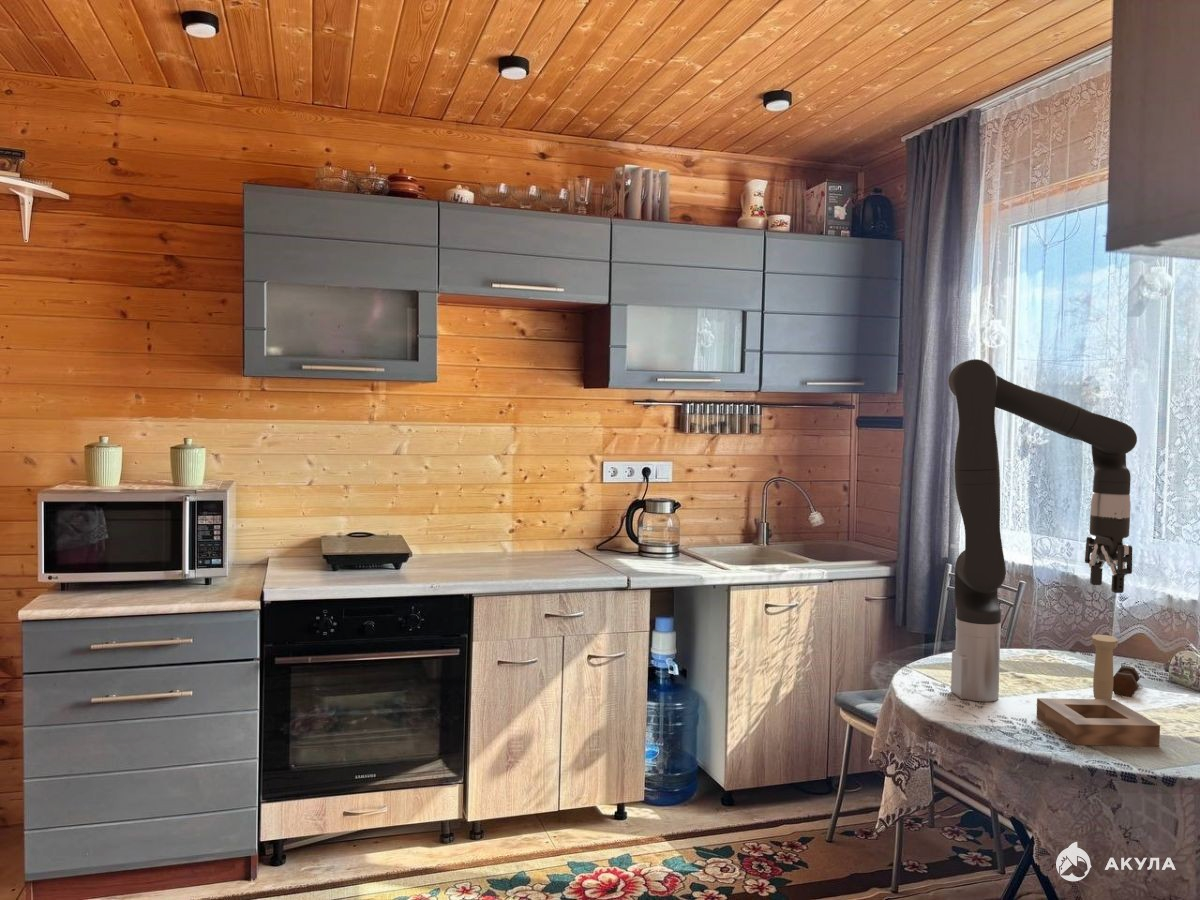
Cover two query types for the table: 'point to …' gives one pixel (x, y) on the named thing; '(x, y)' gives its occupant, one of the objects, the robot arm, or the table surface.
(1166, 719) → the table surface
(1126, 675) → the dark brown hexagonal dumbbell
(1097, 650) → the handle
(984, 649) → the robot arm
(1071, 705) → the socket block
